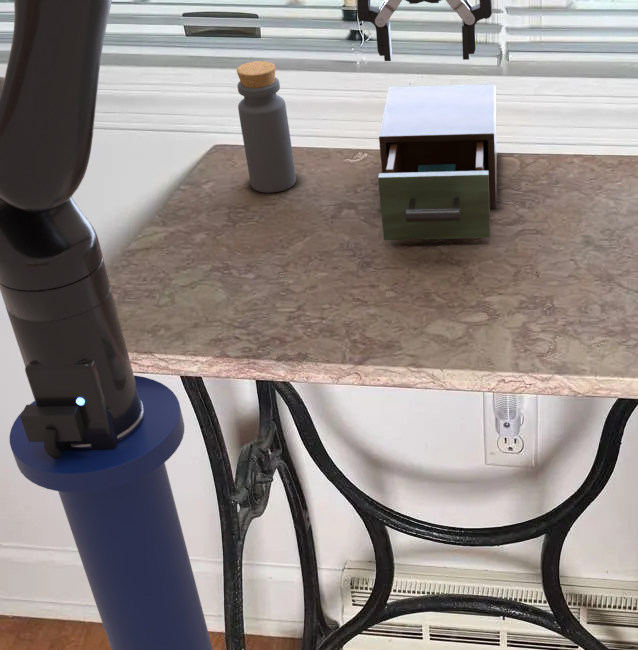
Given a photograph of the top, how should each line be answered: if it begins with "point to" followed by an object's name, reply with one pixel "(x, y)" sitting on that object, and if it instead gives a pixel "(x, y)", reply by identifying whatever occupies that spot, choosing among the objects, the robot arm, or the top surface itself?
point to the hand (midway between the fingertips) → (427, 58)
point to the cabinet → (442, 120)
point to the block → (437, 168)
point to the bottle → (265, 128)
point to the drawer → (435, 191)
